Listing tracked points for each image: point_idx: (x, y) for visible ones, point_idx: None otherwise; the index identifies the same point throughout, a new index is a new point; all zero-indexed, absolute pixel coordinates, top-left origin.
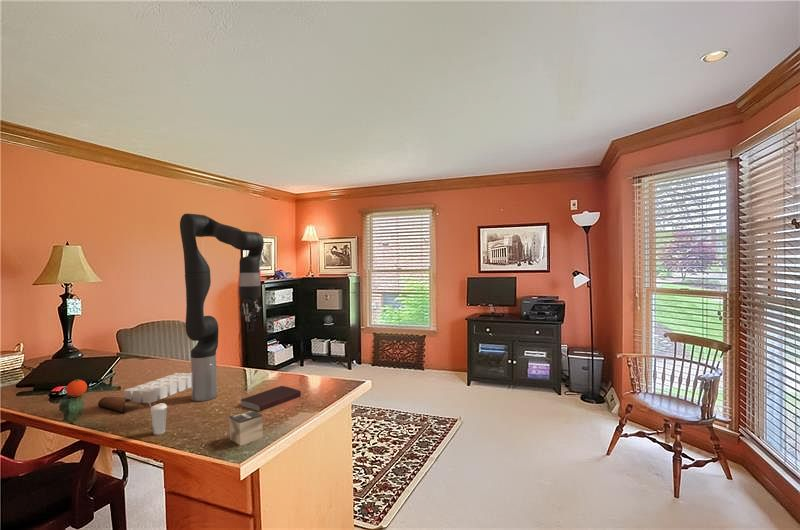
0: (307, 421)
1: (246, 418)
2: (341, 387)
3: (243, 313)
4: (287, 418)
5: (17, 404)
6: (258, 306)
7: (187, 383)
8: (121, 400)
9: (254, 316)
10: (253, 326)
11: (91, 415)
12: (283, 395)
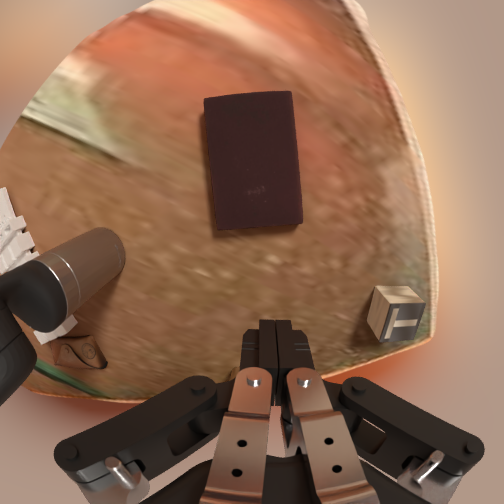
0: (424, 197)
1: (413, 327)
2: (312, 7)
3: (184, 457)
4: (385, 209)
5: (23, 382)
6: (459, 480)
7: (28, 248)
8: (80, 364)
9: (327, 409)
10: (308, 351)
11: (91, 379)
12: (287, 142)
